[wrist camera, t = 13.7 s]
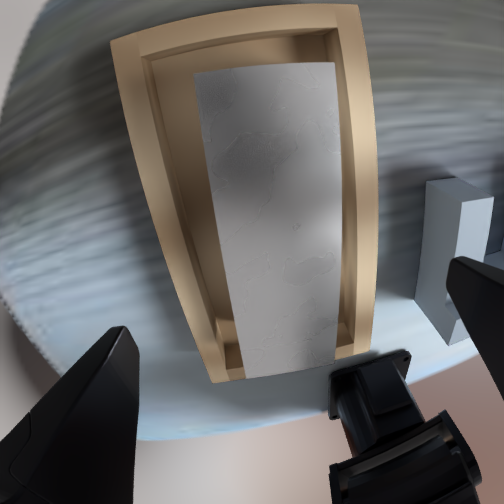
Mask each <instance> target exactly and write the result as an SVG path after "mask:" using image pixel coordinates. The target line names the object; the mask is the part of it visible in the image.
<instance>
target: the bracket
mask: <svg viewBox="0 0 504 504" xmlns="http://www.w3.org/2000/svg"><path fill="white" fill-rule="evenodd" d="M493 201H494V197H493V196H491V195H490V194H488V193H486V192H484V191H482V190H481V189H479V188H477V187H475V186H473V185H471V184H469V183H467V182H465V181H463V180H461V179H460V178H458V177H457V178H449V179H440V180H432V181H426V193H425V212H424V226H423V237H422V247H421V256H420V264H419V272H418V279H417V286H416V292H415V298H414V301H415V302H416V303H417V305H418V306H419V307H420V308H421V310H422V311H423V312H424V314H425V315H426V316H427V318H428V319H429V320H430V322H431V323H432V324H433V326H434V327H435V328H436V330H437V331H438V333H439V334H440V335H441V337H442V338H443V339H444V341H445V342H446V344H447V345H448V346H450V345H452V344H455V343H457V342H459V341H462V340H464V339H466V338H469V337H470V336H469V334H468V332H467V330H466V328H465V326H464V324H463V322H462V320H461V318H460V316H459V314H458V312H457V310H456V308H455V306H454V304H453V302H452V300H451V298H450V296H449V294H448V292H447V289H446V278H447V273H448V267H449V262H450V260H451V259H452V258H455V257H459V256H465V257H468V258H471V259H474V260H477V261H480V262H483V263H485V264H488V265H491V266H494V267H497V268H499V269H502V270H504V237H503V242H502V247H501V251H499V252H495V253H492V254H489V255H486V256H484V255H485V250H486V245H487V240H488V235H489V229H490V223H491V216H492V209H493Z"/></svg>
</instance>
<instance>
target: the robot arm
mask: <svg viewBox="0 0 504 504" xmlns="http://www.w3.org/2000/svg"><path fill="white" fill-rule="evenodd" d="M446 289H447V292H448V294H449V296H450V298H451V300H452V302H453V304H454V306H455V308H456V310H457V312H458V314H459V316H460V318H461V320H462V322H463V324H464V326H465V328H466V330H467V332H468V334H469V336H470V337H471V339H472V341H473V343H474V344H475V346H476V348H477V350H478V352H479V353H480V355H481V357H482V359H483V361H484V362H485V364H486V366H487V368H488V370H489V372H490V374H491V376H492V378H493V380H494V382H495V384H496V386H497V388H498V390H499V392H500V394H501V396H502V398H503V400H504V270H502V269H499V268H497V267H494V266H491V265H488V264H485V263H483V262H480V261H477V260H474V259H471V258H468V257H465V256H459V257H455V258H452V259H451V260H450V262H449V267H448V273H447V278H446ZM139 357H140V356H139V350H138V347H137V345H136V343H135V341H134V339H133V338H132V336H131V334H130V332H129V330H128V328H127V327H125V326H116V327H111V328H110V329H109V330H108V331H107V332H106V333H105V334H104V335H103V336H102V337H101V338H100V339H99V340H98V341H97V342H96V343H95V344H94V345H93V346H92V347H91V348H90V349H89V350H88V351H87V352H86V353H85V354H84V355H83V356H82V357H81V358H80V359H79V360H78V361H77V362H76V363H75V364H74V365H73V366H72V367H71V368H70V369H69V370H68V371H67V372H66V373H65V374H64V375H63V376H62V377H61V378H60V379H59V380H58V381H57V382H56V384H55V385H54V386H53V387H52V388H51V389H50V390H49V391H48V392H47V393H46V394H45V395H44V396H43V397H42V398H41V399H40V400H39V402H38V403H37V404H36V405H35V406H34V407H33V408H32V409H31V410H30V412H28V413H27V414H26V415H25V417H24V418H23V419H22V420H21V421H20V422H19V423H18V424H17V425H16V426H15V427H14V428H13V430H11V432H10V433H9V434H8V435H6V437H4V439H2V440H1V441H0V504H133V488H134V465H135V448H136V436H137V424H138V413H139ZM410 361H411V354H410V353H409V351H404V352H401V353H398V354H395V355H392V356H389V357H385V358H382V359H379V360H375V361H372V362H369V363H365V364H361V365H358V366H354V367H351V368H347V369H343V370H339V371H335V372H333V373H332V374H331V375H330V376H329V405H328V416H329V419H330V420H336V419H339V418H340V419H341V423H342V426H343V429H344V432H345V435H346V438H347V441H348V444H349V447H350V450H351V454H352V457H353V458H351V459H348V460H346V461H343V462H341V463H335V464H332V465H330V466H329V468H330V474H329V481H330V489H331V497H332V504H480V501H479V498H478V495H477V492H476V489H475V486H477V485H479V484H480V483H481V482H482V477H481V472H480V469H479V466H478V463H477V461H476V459H475V456H474V454H473V453H472V451H471V449H470V447H469V446H468V444H467V443H466V441H465V439H464V437H463V436H462V434H461V433H460V431H459V430H458V428H457V426H456V425H455V423H454V422H453V420H452V419H451V417H450V416H449V414H448V413H447V411H446V410H443V411H442V412H440V413H439V414H438V415H437V416H435V417H434V418H432V419H430V420H429V421H427V422H426V421H425V419H424V417H423V415H422V413H421V411H420V409H419V407H418V405H417V403H416V402H415V399H414V397H413V395H412V393H411V392H410V390H409V388H408V386H407V384H406V382H405V378H406V375H407V372H408V368H409V365H410Z"/></svg>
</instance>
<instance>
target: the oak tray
mask: <svg viewBox="0 0 504 504" xmlns="http://www.w3.org/2000/svg"><path fill="white" fill-rule="evenodd" d="M110 45H111V51H112V56H113V62H114V67H115V72H116V78H117V83H118V87H119V92H120V97H121V102H122V106H123V111H124V115H125V119H126V124H127V128H128V132H129V136H130V140H131V144H132V148H133V152H134V156H135V160H136V164H137V167H138V171H139V175H140V178H141V182H142V186H143V189H144V193H145V196H146V200H147V203H148V206H149V210H150V213H151V216H152V220H153V223H154V226H155V229H156V232H157V236H158V239H159V242H160V245H161V248H162V251H163V254H164V257H165V260H166V263H167V266H168V269H169V272H170V275H171V278H172V281H173V283H174V286H175V289H176V292H177V295H178V297H179V300H180V303H181V306H182V308H183V311H184V314H185V316H186V319H187V322H188V324H189V327H190V330H191V332H192V335H193V337H194V340H195V342H196V345H197V347H198V350H199V352H200V355H201V357H202V360H203V362H204V365H205V367H206V369H207V372H208V374H209V377H210V379H211V381H212V383H219V382H226V381H233V380H239V379H246V375H245V370H244V365H243V360H242V355H241V350H240V345H239V341H238V336H237V331H236V325H235V320H234V315H233V310H232V305H231V300H230V295H229V289H228V284H227V279H226V273H225V268H224V262H223V257H222V251H221V246H220V240H219V235H218V229H217V223H216V218H215V212H214V206H213V200H212V194H211V188H210V182H209V176H208V170H207V164H206V157H205V151H204V144H203V138H202V132H201V125H200V118H199V111H198V105H197V98H196V91H195V84H194V76H193V74H195V73H201V72H208V71H214V70H221V69H229V68H237V67H247V66H257V65H269V64H285V63H314V62H334V63H335V73H336V83H337V95H338V109H339V124H340V144H341V173H342V248H341V277H340V297H339V313H338V327H337V340H336V351H335V360H337V359H341V358H345V357H349V356H353V355H356V354H360V353H364V352H367V351H369V350H370V342H371V334H372V324H373V314H374V303H375V290H376V275H377V255H378V165H377V146H376V131H375V118H374V107H373V98H372V89H371V80H370V73H369V65H368V59H367V52H366V46H365V40H364V34H363V29H362V23H361V18H360V13H359V9H358V5H352V4H290V5H275V6H263V7H253V8H245V9H237V10H230V11H224V12H218V13H212V14H207V15H202V16H197V17H192V18H187V19H183V20H179V21H174V22H170V23H166V24H163V25H159V26H155V27H152V28H148V29H145V30H142V31H138V32H135V33H132V34H129V35H126V36H123V37H120V38H117V39H114V40H111V41H110Z"/></svg>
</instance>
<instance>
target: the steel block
mask: <svg viewBox="0 0 504 504" xmlns="http://www.w3.org/2000/svg"><path fill="white" fill-rule="evenodd" d="M193 76H194V84H195V91H196V98H197V105H198V111H199V118H200V125H201V132H202V138H203V144H204V151H205V157H206V164H207V170H208V176H209V182H210V188H211V194H212V200H213V206H214V212H215V218H216V223H217V229H218V235H219V240H220V246H221V251H222V257H223V262H224V268H225V273H226V279H227V284H228V289H229V295H230V300H231V305H232V310H233V315H234V320H235V325H236V331H237V336H238V341H239V345H240V350H241V355H242V360H243V365H244V370H245V375H246V379H249V378H256V377H263V376H270V375H276V374H282V373H288V372H294V371H299V370H305V369H310V368H315V367H320V366H325V365H330V364H334V361H335V351H336V340H337V327H338V313H339V297H340V277H341V248H342V173H341V144H340V124H339V109H338V95H337V83H336V73H335V63H334V62H314V63H285V64H269V65H257V66H247V67H237V68H229V69H221V70H214V71H208V72H201V73H195V74H193Z"/></svg>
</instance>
